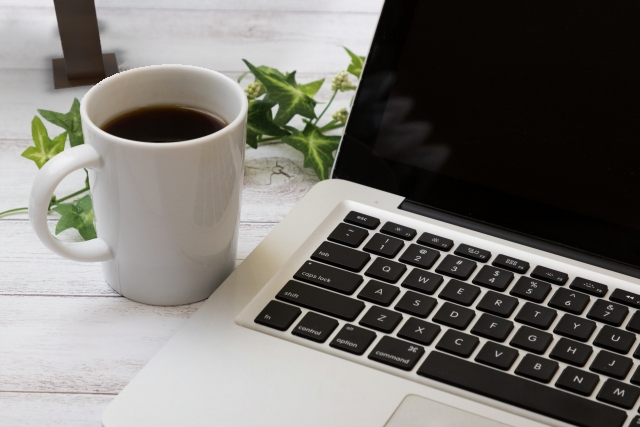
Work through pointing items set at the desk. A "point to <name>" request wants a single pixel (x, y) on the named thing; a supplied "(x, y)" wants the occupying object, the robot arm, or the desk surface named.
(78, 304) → the desk surface
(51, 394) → the desk surface
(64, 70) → the brown post on base
